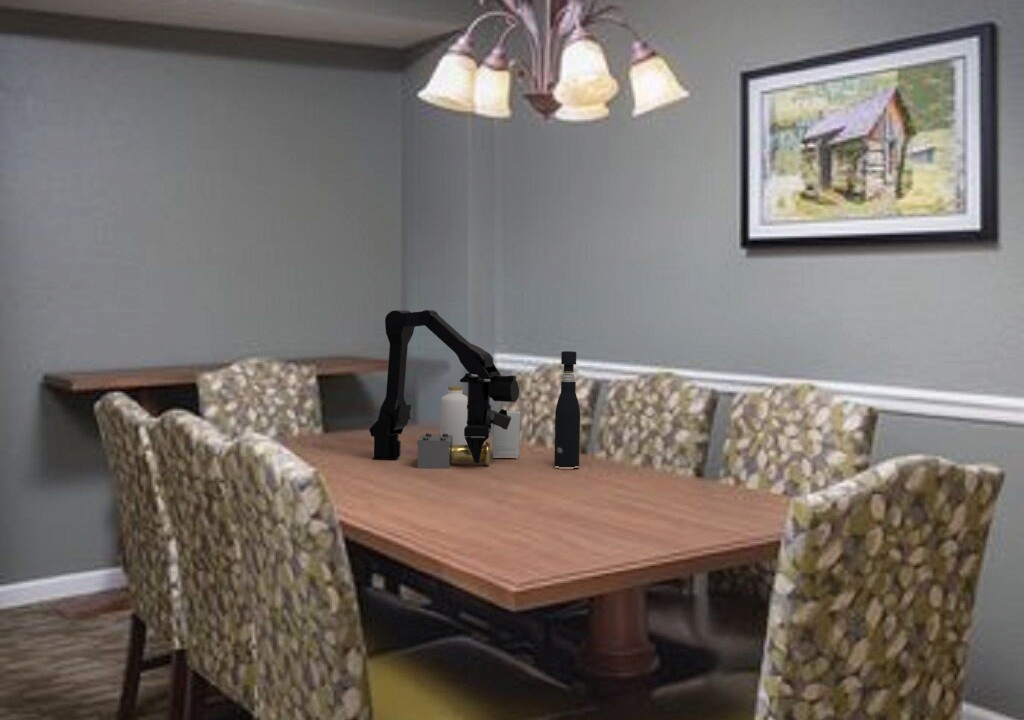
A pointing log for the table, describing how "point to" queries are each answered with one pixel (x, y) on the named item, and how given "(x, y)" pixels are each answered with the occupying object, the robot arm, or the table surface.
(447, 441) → the housing
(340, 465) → the table surface
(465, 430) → the robot arm
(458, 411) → the white bottle
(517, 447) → the supplement box
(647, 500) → the table surface
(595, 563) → the table surface
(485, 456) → the brass cylinder
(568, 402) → the black water bottle
